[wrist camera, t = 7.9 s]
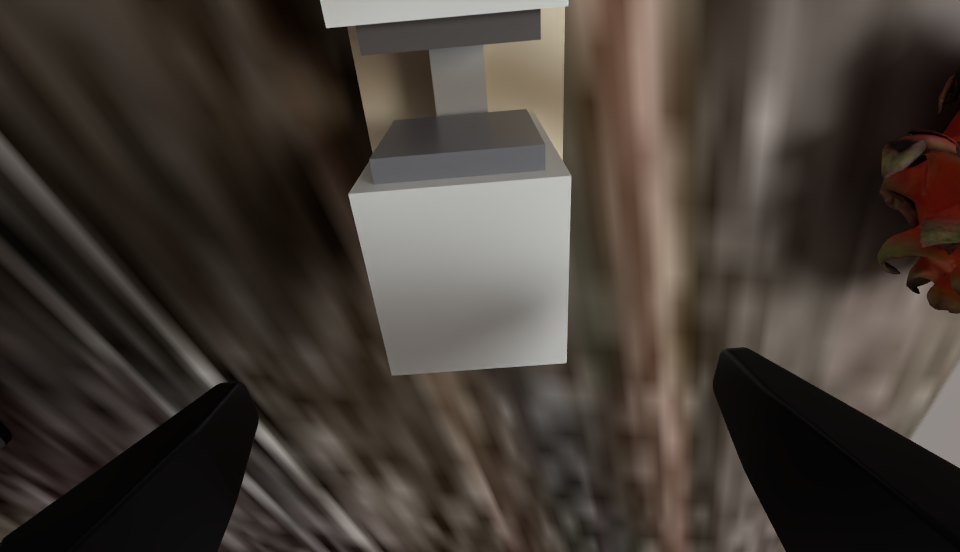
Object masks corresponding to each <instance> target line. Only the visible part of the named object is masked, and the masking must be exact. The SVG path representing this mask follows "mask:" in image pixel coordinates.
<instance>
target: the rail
mask: <svg viewBox="0 0 960 552" xmlns="http://www.w3.org/2000/svg"><path fill="white" fill-rule="evenodd" d="M320 3H321V7H322V12H323V16H324V21H325V25H326V28H334V27H345V26H347V29H348V34H349V39H350V44H351V49H352V54H353V59H354V64H355V69H356V74H357V79H358V84H359V88H360V93H361V98H362V103H363V108H364V113H365V118H366V123H367V128H368V133H369V138H370V143H371V148H372V153H373V152H374V151H375V149H376V148H377V146H378V145H379V143H380V142H381V140H382V138H383V137H384V135H385V134H386V132H387V131H388V129H389V128H390V126H391V125H392V123H393V121H394V120H403V119H415V118H427V117H438V116H450V115H461V114H473V113H485V112H496V111H508V110H519V109H527V111H528V112H531V111H534V113H535V115H536V116H537V118H538V120H539V121H540V123H541V125H542V127H543V128H544V130H545V132H546V133H547V135H548V137H549V139H550V140H551V142H552V144H553V145H554V147H555V149H556V150H557V152H558V154H559V156H560V157H561V159H563V94H564V29H565V6H568V0H320Z"/></svg>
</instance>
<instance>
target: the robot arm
mask: <svg viewBox="0 0 960 552" xmlns="http://www.w3.org/2000/svg"><path fill="white" fill-rule="evenodd" d="M713 390H714V394H715V397H716V399H717V402H718V405H719V407H720V410H721V412H722V415H723V417H724V420H725V423H726V425H727V428H728V430H729V433H730V436H731V438H732V441H733V443H734V446H735V448H736V451H737V454H738V456H739V459H740V461H741V463H742V466H743V468H744V471H745V473H746V475H747V477H748V479H749V481H750V483H751V485H752V487H753V489H754V491H755V493H756V495H757V496H758V498H759V500H760V502H761V504H762V506H763V508H764V510H765V512H766V514H767V516H768V518H769V520H770V522H771V524H772V526H773V527H774V529H775V531H776V533H777V535H778V537H779V539H780V541H781V543H782V545H783V547H784V549H785V551H786V552H960V468H958V467H957V466H955V465H953V464H951V463H950V462H948V461H946V460H944V459H942V458H941V457H939V456H937V455H935V454H934V453H932V452H930V451H928V450H927V449H925V448H923V447H921V446H920V445H918V444H916V443H914V442H913V441H911V440H909V439H907V438H906V437H904V436H902V435H900V434H898V433H897V432H895V431H893V430H891V429H890V428H888V427H886V426H884V425H883V424H881V423H879V422H877V421H876V420H874V419H872V418H870V417H869V416H867V415H865V414H863V413H861V412H860V411H858V410H856V409H854V408H853V407H851V406H849V405H847V404H846V403H844V402H842V401H840V400H839V399H837V398H835V397H833V396H832V395H830V394H828V393H826V392H824V391H823V390H821V389H819V388H817V387H816V386H814V385H812V384H810V383H809V382H807V381H805V380H803V379H802V378H800V377H798V376H796V375H795V374H793V373H791V372H789V371H787V370H786V369H784V368H782V367H780V366H779V365H777V364H775V363H773V362H772V361H770V360H768V359H766V358H765V357H763V356H761V355H759V354H758V353H756V352H754V351H752V350H750V349H748V348H744V347H741V348H727V349H724V350H722V352H721V353H720V356H719V359H718V363H717V367H716V371H715V375H714V379H713ZM258 420H259V417H258V411H257V409H256V406H255V404H254V402H253V400H252V398H251V396H250V394H249V392H248V389H247V387H246V386H245V385H244V384H243V383H242V382H226V383H220V384H218V385H216V386H215V387H213V388H212V389H210V390H209V391H208V392H206V393H205V394H203V395H202V396H201V397H199V398H198V399H196V400H195V401H194V402H192V403H191V404H190V405H188V406H187V407H185V408H184V409H183V410H181V411H180V412H178V413H177V414H176V415H174V416H173V417H171V418H170V419H169V420H167V421H166V422H165V423H163V424H162V425H160V426H159V427H158V428H156V429H155V430H153V431H152V432H151V433H149V434H148V435H146V436H145V437H144V438H142V439H141V440H139V441H138V442H137V443H135V444H134V445H132V446H131V447H130V448H128V449H127V450H126V451H124V452H123V453H121V454H120V455H119V456H117V457H116V458H114V459H113V460H112V461H110V462H109V463H107V464H106V465H105V466H103V467H102V468H100V469H99V470H98V471H96V472H95V473H94V474H92V475H91V476H89V477H88V478H87V479H85V480H84V481H82V482H81V483H80V484H78V485H77V486H75V487H74V488H73V489H71V490H70V491H68V492H67V493H66V494H64V495H63V496H61V497H60V498H59V499H57V500H56V501H55V502H53V503H52V504H50V505H49V506H48V507H46V508H45V509H43V510H42V511H41V512H39V513H38V514H36V515H35V516H34V517H32V518H31V519H29V520H28V521H27V522H25V523H24V524H23V525H21V526H20V527H18V528H17V529H16V530H14V531H13V532H11V533H10V534H9V535H7V536H6V537H5V538H3V540H2V542H1V543H0V552H217V551H218V549H219V546H220V543H221V541H222V538H223V536H224V533H225V530H226V528H227V525H228V523H229V520H230V517H231V515H232V512H233V509H234V507H235V504H236V501H237V498H238V495H239V491H240V488H241V484H242V481H243V477H244V474H245V470H246V466H247V463H248V459H249V455H250V452H251V448H252V444H253V441H254V437H255V433H256V430H257V426H258ZM10 440H11V436H10V435H9V433H8V432H7V431H6V430H5V429H4V428H3V427H2V426H1V425H0V448H1V447H4V446H5V445H6V444H7V443H8V442H9V441H10Z"/></svg>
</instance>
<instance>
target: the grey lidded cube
mask: <svg viewBox="0 0 960 552" xmlns="http://www.w3.org/2000/svg"><path fill="white" fill-rule="evenodd" d="M348 195H349V199H350V204H351V208H352V212H353V216H354V220H355V224H356V229H357V233H358V237H359V241H360V245H361V249H362V253H363V258H364V262H365V266H366V270H367V274H368V278H369V283H370V287H371V291H372V295H373V299H374V303H375V307H376V312H377V316H378V320H379V324H380V328H381V332H382V337H383V341H384V345H385V349H386V353H387V357H388V361H389V366H390V370H391V374H392V376H393V375H407V374H421V373H435V372H449V371H462V370H476V369H490V368H504V367H518V366H532V365H545V364H559V363H567V324H568V284H569V244H570V204H571V174H570V173H569V171H568V169H567V168H566V166H565V164H564V162H563V161H562V159H561V157H560V156H559V154H558V152H557V150H556V149H555V147H554V145H553V144H552V142H551V140H550V139H549V137H548V135H547V133H546V132H545V130H544V128H543V127H542V125H541V123H540V121H539V120H538V118H537V116H536V115H535V113H534V111H531V112H528V111H527V109H519V110H508V111H496V112H485V113H473V114H461V115H450V116H438V117H427V118H415V119H403V120H394V121H393V123H392V125H391V126H390V128H389V129H388V131H387V132H386V134H385V135H384V137H383V138H382V140H381V142H380V143H379V145H378V146H377V148H376V149H375V151H374V152H373V154H372V155H371V157H370V159H369V162H368V164H367V165H366V167H365V168H364V170H363V172H362V173H361V175H360V176H359V178H358V179H357V181H356V183H355V184H354V186H353V187H352V189H351V190H350V192H349V194H348Z"/></svg>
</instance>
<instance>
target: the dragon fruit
mask: <svg viewBox="0 0 960 552" xmlns="http://www.w3.org/2000/svg"><path fill="white" fill-rule="evenodd" d="M949 93H951V94H952V98H951V101H950V102H949V103H950V104H952V103H955V101H956V100H957V98H958V97H959V95H960V68H959V69H958V70H957V71H956V72H955V75H954V76H952V77H950V78H949V79H948V80H947V82H946V84H945V86H944V89H943V92H942V93H941V94H940V96H939V97H937V98H939V102H938V114H937V116H938V115H939V114H940V113H941V112H942V109H943V106H944V105H945V104H947V103H945V99H946V97H947V95H948V94H949ZM932 102H933V101H932ZM907 133H908V134H912V135H909V136H905V137H901V138H899V139H896V140H894V141H891V142H889V143H888V144H886V146H885V147H884V148H883V151H882V165H881V173H882V176H883V178H884V180H883V183H882V185H881V188H880V192H879V193H880V194H881V195H882V196H883V197H884V198H885V203H886V204H887V205H888V206H889V207H890V208H892V209H894V210H899V211H900V212H901V213H902V214H903V215H904V216H905V218H906V220H907V222H908V223H909V224H910V226H911V229H910V230H907V231H904V232H901V233H898V234H895V235H893V236H891V237H890V238H888V239H887V240H886V241H885V242H884V244H883V245H882V246H881V248H880V250H879V253H878V256H877V262H878V264H879V266H880V267H881V268H883V269H884V270H885V271H886V272H888V273H892V274H900V272H899V271H898V270H897V269H896V268H894V267H893V266H891V265H890V264H888V263H887V262H886V261H888V260H891V259H900V258H904V257H906V256H921V257H920V258H919V259H918V261H917V263H916V264H915V265H914V266H913V267H912V268H911V270H910V272H909V275H908V278H907V284H906V285H907V287H909V288H910V289H911V290H912V291H913V292H915V293H917V294H920V292H919V289H918V288H917V287H918V286H921V285H924V284H926V283H928V282H930V281H932V282H933V283H934V285H933V286H932V287H931V288H930V290H929V291H928V293H927V299H928V301H929V304H930V306H931V307H933V308H935V309H937V310H948V311H949V312H950V313H956V314H958V313H960V110H959V111H958V113H957V114H956V115H955V117H954V118H953V119H952V121H951V123H950V124H949V125H948V127H947V128H946V130H945V131H944V133H943V134H941V133H938V132H934V131H926V130H913V131H909V132H907ZM922 155H926V158H927V160H926V161H924V162H923V163H921V164H919V165H916V166H914V167H912V168H910V167H908V166H909V165H910V164H911V163H912V162H913V161H915V160H916V159H917V158H918V157H920V156H922ZM910 199H911V200H912V201H913V202H914V203H915V205H914V204H913V202H912V201H911V200H910Z"/></svg>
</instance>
